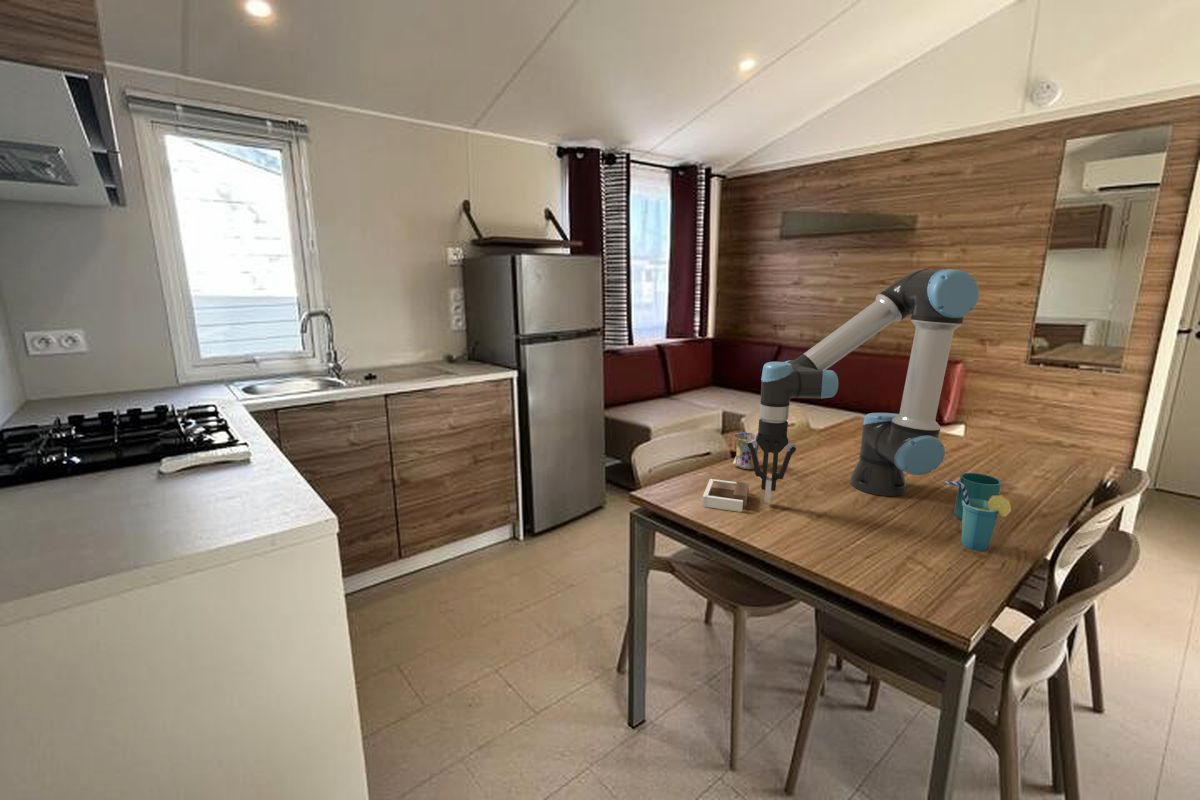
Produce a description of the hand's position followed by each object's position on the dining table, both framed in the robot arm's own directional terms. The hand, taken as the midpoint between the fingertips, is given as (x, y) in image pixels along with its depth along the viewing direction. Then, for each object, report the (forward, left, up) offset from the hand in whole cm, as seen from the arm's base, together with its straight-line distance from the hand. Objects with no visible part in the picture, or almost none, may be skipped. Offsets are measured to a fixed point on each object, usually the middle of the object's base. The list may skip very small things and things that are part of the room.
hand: (767, 500), depth 153 cm
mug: (+9, -32, -2) cm, 33 cm away
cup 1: (-53, -12, -2) cm, 54 cm away
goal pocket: (+11, 0, -1) cm, 11 cm away
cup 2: (-47, +7, -2) cm, 48 cm away
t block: (+11, 0, -1) cm, 11 cm away
